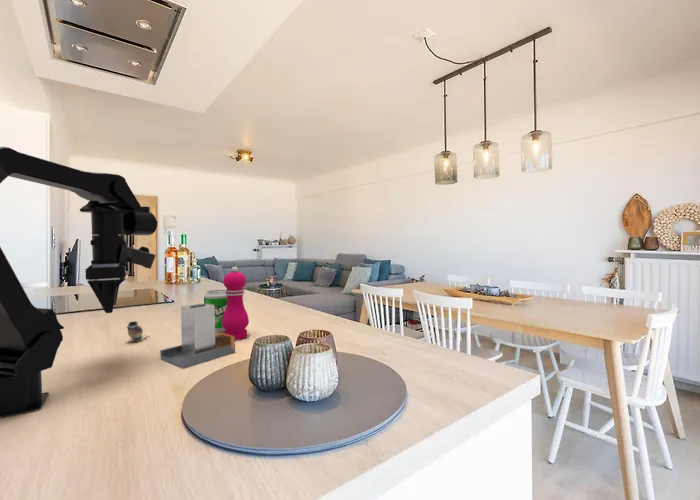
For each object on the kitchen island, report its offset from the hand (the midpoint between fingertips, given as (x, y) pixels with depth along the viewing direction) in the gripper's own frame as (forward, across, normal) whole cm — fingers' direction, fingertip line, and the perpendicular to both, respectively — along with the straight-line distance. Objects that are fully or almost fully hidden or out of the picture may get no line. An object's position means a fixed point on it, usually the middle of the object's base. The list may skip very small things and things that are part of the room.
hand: (110, 308), depth 74 cm
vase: (+13, +21, -4) cm, 25 cm away
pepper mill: (+13, +11, -28) cm, 33 cm away
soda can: (+13, +21, -25) cm, 35 cm away
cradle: (+13, 0, -17) cm, 21 cm away
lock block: (+12, 0, -17) cm, 21 cm away
